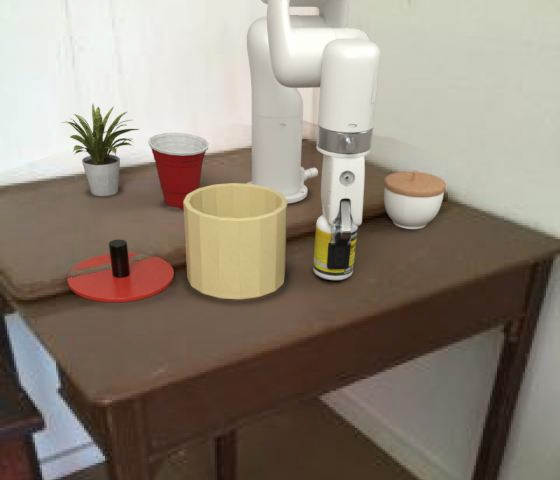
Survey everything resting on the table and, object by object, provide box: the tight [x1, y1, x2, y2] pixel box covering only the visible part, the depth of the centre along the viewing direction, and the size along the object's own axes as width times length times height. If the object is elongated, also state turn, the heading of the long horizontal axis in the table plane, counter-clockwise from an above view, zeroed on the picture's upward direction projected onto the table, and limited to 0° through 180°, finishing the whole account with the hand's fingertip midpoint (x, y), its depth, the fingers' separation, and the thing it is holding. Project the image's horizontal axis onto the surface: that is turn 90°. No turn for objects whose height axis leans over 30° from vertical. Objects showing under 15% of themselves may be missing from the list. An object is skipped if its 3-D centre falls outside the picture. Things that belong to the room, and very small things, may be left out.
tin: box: [183, 182, 288, 300], centre depth 103 cm, size 15×15×12 cm
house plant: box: [61, 104, 140, 197], centre depth 131 cm, size 14×14×16 cm
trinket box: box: [383, 170, 447, 230], centre depth 125 cm, size 11×11×9 cm
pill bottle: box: [312, 205, 359, 281], centre depth 105 cm, size 6×6×11 cm
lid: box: [66, 239, 175, 303], centre depth 104 cm, size 16×16×6 cm
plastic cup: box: [148, 132, 210, 211], centre depth 129 cm, size 11×11×12 cm
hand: (334, 256), depth 106 cm, fingers closed on pill bottle, 6 cm apart
